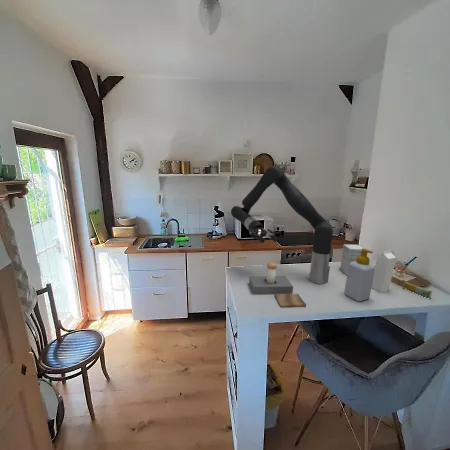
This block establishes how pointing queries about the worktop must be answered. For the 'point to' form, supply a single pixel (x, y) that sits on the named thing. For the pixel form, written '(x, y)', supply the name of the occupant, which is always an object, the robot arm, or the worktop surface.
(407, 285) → the medication box
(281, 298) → the pad
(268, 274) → the plug
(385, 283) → the milk
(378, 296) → the worktop surface
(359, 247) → the supplement box
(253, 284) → the grey base plate
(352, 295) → the soap bottle
